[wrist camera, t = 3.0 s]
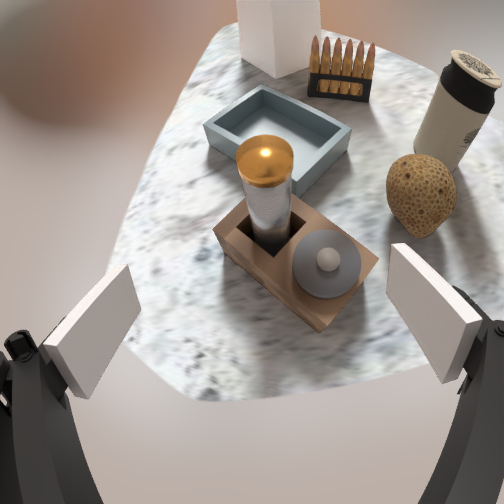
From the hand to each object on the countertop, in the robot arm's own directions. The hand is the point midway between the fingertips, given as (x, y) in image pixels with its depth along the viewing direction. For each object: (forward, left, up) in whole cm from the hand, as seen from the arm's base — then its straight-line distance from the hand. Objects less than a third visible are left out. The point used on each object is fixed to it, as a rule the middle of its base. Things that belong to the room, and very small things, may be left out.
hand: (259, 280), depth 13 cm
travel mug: (-3, -36, -18) cm, 40 cm away
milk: (+32, -40, -18) cm, 54 cm away
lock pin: (+6, -7, -17) cm, 19 cm away
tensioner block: (+3, -7, -17) cm, 19 cm away
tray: (+16, -19, -17) cm, 30 cm away
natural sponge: (-4, -22, -18) cm, 28 cm away
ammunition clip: (+16, -36, -18) cm, 43 cm away
